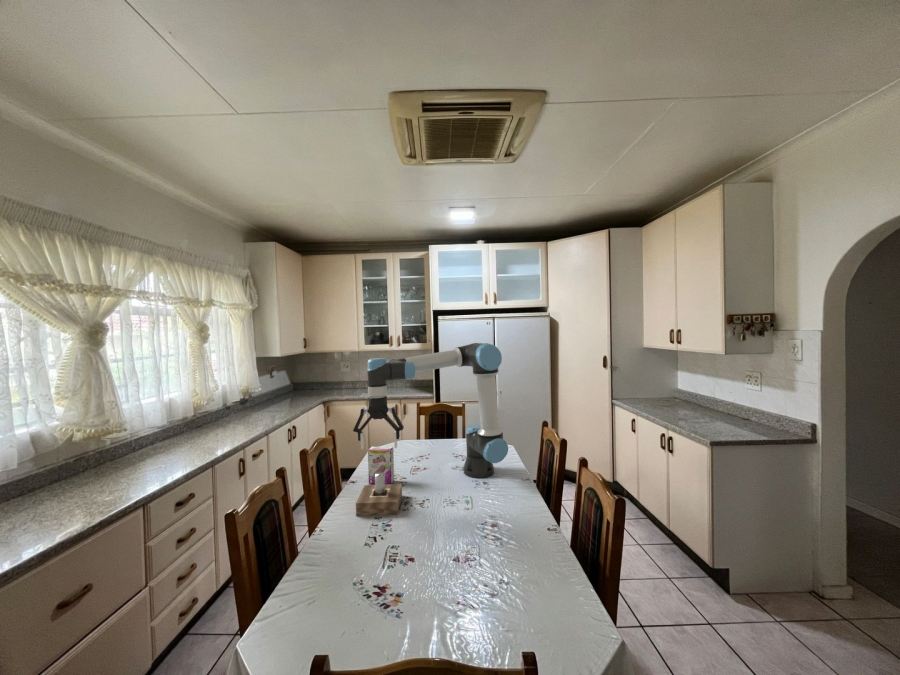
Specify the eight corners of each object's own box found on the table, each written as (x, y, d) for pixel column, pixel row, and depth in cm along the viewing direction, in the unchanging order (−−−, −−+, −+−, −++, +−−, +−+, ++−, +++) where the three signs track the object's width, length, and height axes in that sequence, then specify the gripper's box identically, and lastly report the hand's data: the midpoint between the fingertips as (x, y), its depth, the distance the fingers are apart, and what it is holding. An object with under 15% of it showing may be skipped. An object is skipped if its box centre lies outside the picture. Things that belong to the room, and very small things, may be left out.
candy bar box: (368, 484, 165) (367, 449, 165) (371, 480, 170) (370, 446, 170) (391, 485, 164) (390, 449, 164) (394, 480, 169) (393, 446, 169)
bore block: (401, 495, 154) (401, 483, 154) (397, 514, 138) (397, 501, 138) (364, 496, 153) (364, 485, 153) (356, 516, 137) (355, 503, 137)
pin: (386, 500, 147) (385, 471, 147) (384, 504, 144) (383, 475, 143) (376, 500, 147) (375, 471, 147) (374, 505, 143) (374, 475, 143)
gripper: (409, 393, 149) (410, 443, 149) (349, 395, 148) (350, 445, 148) (407, 396, 141) (409, 449, 142) (344, 398, 141) (346, 452, 141)
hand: (379, 447), depth 145 cm, fingers open, 13 cm apart
